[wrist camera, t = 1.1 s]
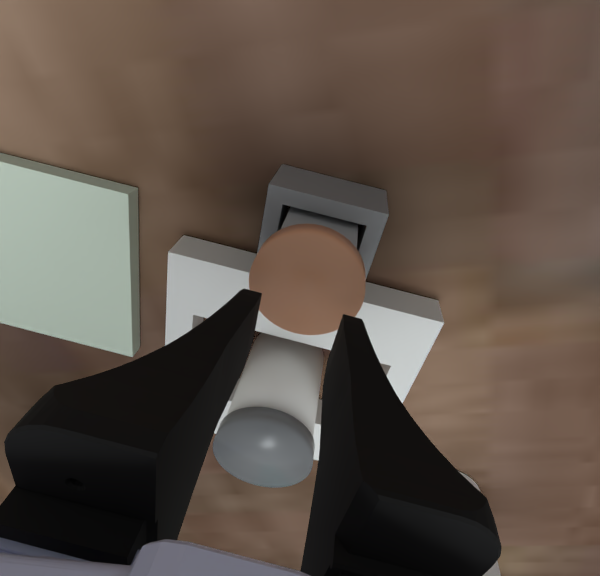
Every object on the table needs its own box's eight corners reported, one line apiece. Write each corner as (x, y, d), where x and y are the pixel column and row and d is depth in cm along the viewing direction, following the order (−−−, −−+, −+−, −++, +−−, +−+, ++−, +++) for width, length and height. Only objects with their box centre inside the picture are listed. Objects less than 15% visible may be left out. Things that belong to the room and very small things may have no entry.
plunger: (351, 288, 20) (347, 346, 16) (265, 265, 20) (241, 319, 16) (378, 206, 18) (381, 252, 14) (281, 181, 18) (257, 221, 14)
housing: (366, 447, 29) (366, 487, 26) (174, 397, 29) (156, 432, 26) (480, 214, 19) (497, 242, 16) (188, 140, 19) (161, 156, 16)
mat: (140, 346, 27) (132, 357, 26) (-22, 305, 27) (-34, 313, 26) (137, 187, 21) (128, 194, 20) (-71, 134, 21) (-89, 138, 20)
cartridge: (316, 391, 26) (300, 496, 20) (245, 372, 27) (208, 472, 20) (335, 336, 24) (323, 438, 18) (256, 315, 24) (217, 410, 18)
